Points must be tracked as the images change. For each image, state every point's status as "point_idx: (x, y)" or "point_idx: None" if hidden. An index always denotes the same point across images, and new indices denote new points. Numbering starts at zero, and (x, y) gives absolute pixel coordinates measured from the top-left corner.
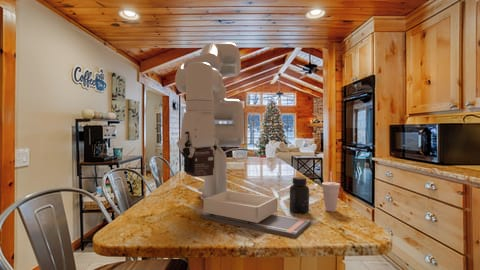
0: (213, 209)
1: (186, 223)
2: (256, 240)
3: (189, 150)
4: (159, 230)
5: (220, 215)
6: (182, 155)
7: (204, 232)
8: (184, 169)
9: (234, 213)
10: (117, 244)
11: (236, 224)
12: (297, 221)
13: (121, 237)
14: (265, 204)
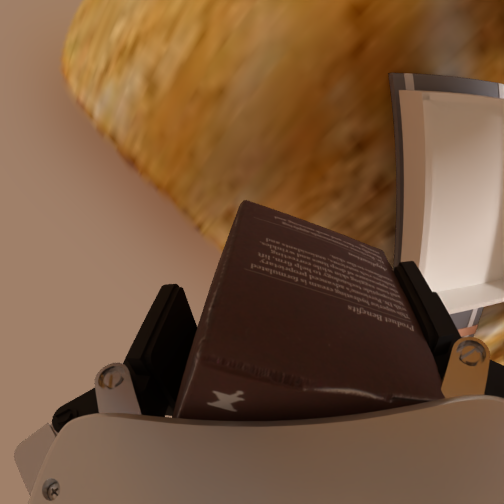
0: (409, 141)
1: (313, 78)
2: None
3: (173, 416)
4: (206, 68)
5: (404, 169)
6: (99, 378)
7: (293, 188)
8: (161, 294)
9: (408, 231)
10: (83, 95)
11: (396, 224)
12: (457, 327)
13: (105, 53)
14: (454, 311)
